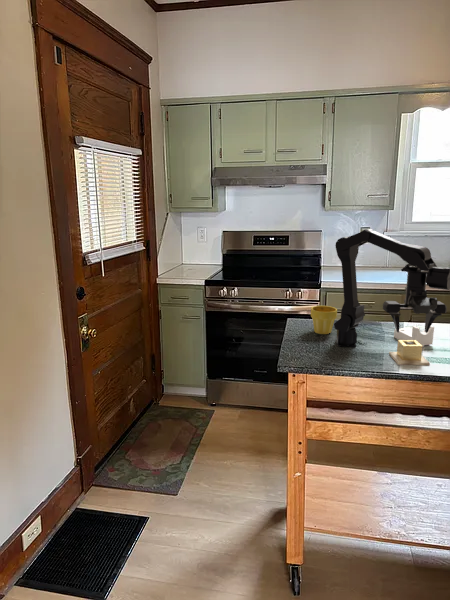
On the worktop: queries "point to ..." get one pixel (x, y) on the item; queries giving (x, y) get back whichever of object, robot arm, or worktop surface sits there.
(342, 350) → the worktop surface
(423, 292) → the robot arm
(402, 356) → the brass collar
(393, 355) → the post board
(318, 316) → the plant pot
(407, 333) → the bracket
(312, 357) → the worktop surface
